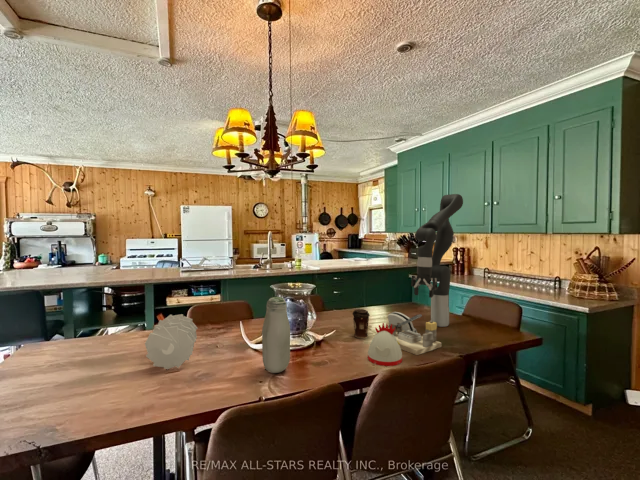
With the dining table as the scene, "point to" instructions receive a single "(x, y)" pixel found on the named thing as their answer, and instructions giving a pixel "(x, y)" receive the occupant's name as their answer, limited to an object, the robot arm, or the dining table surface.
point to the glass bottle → (276, 336)
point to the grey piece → (400, 321)
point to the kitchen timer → (385, 348)
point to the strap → (408, 321)
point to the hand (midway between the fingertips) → (423, 296)
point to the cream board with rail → (416, 340)
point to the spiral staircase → (171, 341)
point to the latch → (431, 325)
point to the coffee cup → (361, 323)
